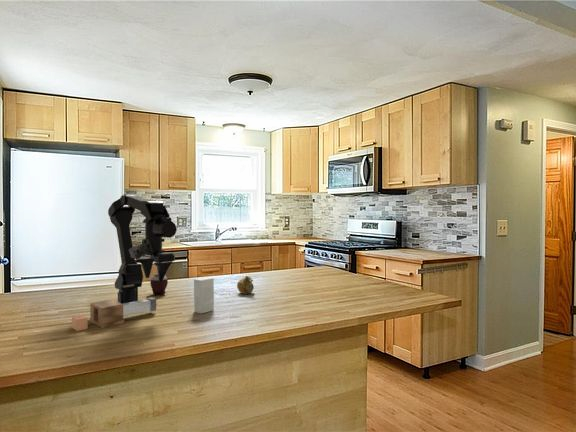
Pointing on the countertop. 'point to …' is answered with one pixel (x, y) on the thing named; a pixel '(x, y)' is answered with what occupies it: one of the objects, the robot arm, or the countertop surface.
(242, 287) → the onion
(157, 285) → the mate gourd
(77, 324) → the block
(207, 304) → the skincare box
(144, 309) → the shaft
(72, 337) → the countertop surface
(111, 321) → the block
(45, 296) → the countertop surface
